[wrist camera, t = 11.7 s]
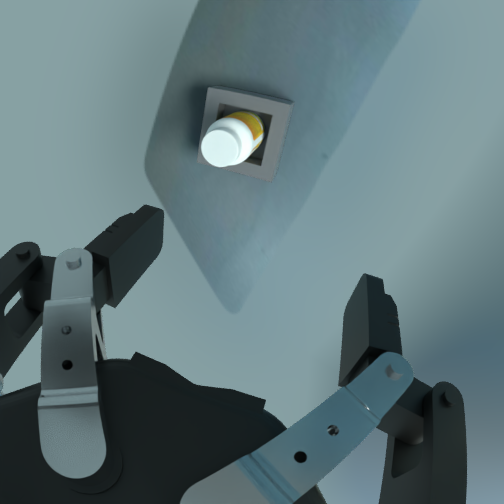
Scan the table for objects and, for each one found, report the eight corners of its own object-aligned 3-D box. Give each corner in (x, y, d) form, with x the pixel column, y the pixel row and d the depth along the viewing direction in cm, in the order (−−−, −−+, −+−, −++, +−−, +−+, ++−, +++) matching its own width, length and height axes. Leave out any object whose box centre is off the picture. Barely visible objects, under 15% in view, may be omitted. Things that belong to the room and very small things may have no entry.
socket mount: (218, 85, 36) (208, 87, 34) (294, 102, 35) (290, 105, 33) (206, 154, 42) (196, 162, 39) (276, 173, 41) (271, 182, 38)
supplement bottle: (227, 106, 37) (196, 119, 29) (269, 113, 36) (248, 127, 28) (222, 146, 40) (192, 168, 32) (262, 153, 39) (241, 178, 31)
